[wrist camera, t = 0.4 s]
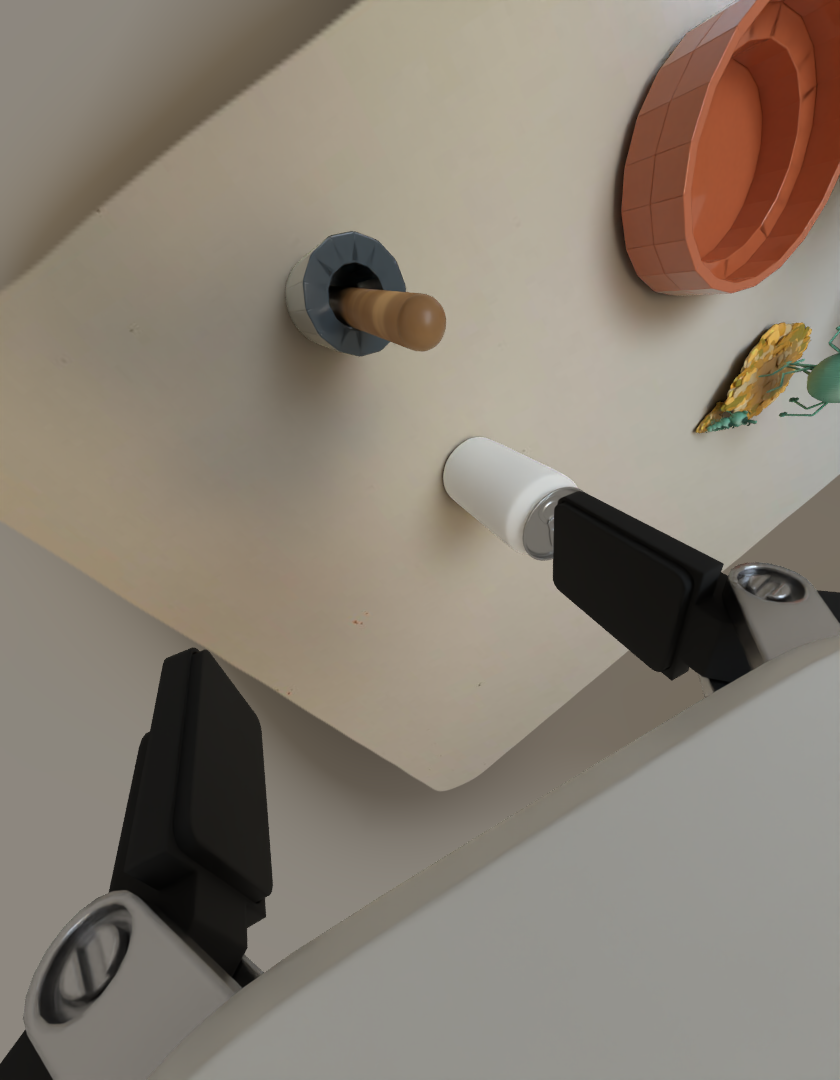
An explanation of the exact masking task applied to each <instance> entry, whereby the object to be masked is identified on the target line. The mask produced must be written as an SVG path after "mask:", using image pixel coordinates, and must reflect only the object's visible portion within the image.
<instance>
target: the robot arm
mask: <svg viewBox="0 0 840 1080" xmlns="http://www.w3.org/2000/svg"><path fill="white" fill-rule="evenodd" d="M722 567H723V563H721V562H719V561H717V560H715V559H713V558H711V557H709V556H708V555H706V554H704V553H702V552H700V551H698V550H696V549H694V548H692V547H690V546H688V545H686V544H684V543H682V542H680V541H678V540H676V539H674V538H672V537H670V536H668V535H667V534H665V533H663V532H661V531H659V530H657V529H655V528H653V527H651V526H649V525H647V524H645V523H643V522H641V521H639V520H637V519H635V518H633V517H631V516H629V515H627V514H626V513H624V512H622V511H620V510H618V509H616V508H614V507H612V506H610V505H608V504H606V503H604V502H602V501H600V500H598V499H596V498H594V497H592V496H590V495H588V494H586V493H585V492H582V491H576V492H574V493H572V494H569V495H567V496H564V497H562V498H560V499H559V500H558V503H557V505H556V506H555V508H554V541H553V581H554V584H555V586H556V587H557V589H558V590H559V591H560V592H562V593H563V594H564V595H565V596H566V597H567V598H569V599H570V600H571V601H572V602H573V603H574V604H576V605H577V606H578V607H579V608H580V609H582V610H583V611H584V612H585V613H586V614H587V615H589V616H590V617H591V618H592V619H593V620H594V621H596V622H597V623H598V624H599V625H600V626H602V627H603V628H604V629H605V630H606V631H607V632H609V633H610V634H611V635H612V636H613V637H614V638H616V639H617V640H618V641H619V642H620V643H622V644H623V645H624V646H625V647H626V648H627V649H629V650H630V651H631V652H632V653H633V654H635V655H636V656H637V657H638V658H639V659H640V660H642V661H643V662H644V663H645V664H646V665H648V666H649V667H650V668H652V669H653V670H654V671H657V672H662V673H663V674H664V675H666V676H667V677H668V678H669V679H670V680H674V679H675V678H677V677H678V676H680V675H682V674H684V673H686V672H687V671H688V670H689V667H690V668H692V669H693V670H694V671H695V672H697V673H698V676H699V680H700V683H701V686H702V689H703V693H704V697H705V698H704V699H702V700H701V701H699V702H697V703H696V704H694V705H692V706H691V707H689V708H687V709H686V710H684V711H682V712H681V713H679V714H677V715H676V716H674V717H672V718H671V719H669V720H667V721H666V722H664V723H662V724H661V725H659V726H657V727H656V728H654V729H653V730H651V731H649V732H648V733H646V734H645V735H643V736H641V737H639V738H638V739H636V740H634V741H633V742H631V743H630V744H628V745H626V746H624V747H623V748H621V749H620V750H618V751H616V752H615V753H613V754H611V755H610V756H608V757H607V758H605V759H603V760H601V761H600V762H598V763H597V764H595V765H593V766H592V767H590V768H588V769H587V770H585V771H583V772H582V773H580V774H579V775H577V776H575V777H574V778H572V779H570V780H569V781H567V782H565V783H564V784H562V785H561V786H559V787H557V788H556V789H554V790H552V791H551V792H549V793H547V794H546V795H544V796H543V797H541V798H539V799H538V800H536V801H535V802H533V803H531V804H529V805H528V806H526V807H525V808H523V809H521V810H520V811H518V812H516V813H515V814H513V815H511V816H510V817H508V818H507V819H505V820H504V821H502V822H500V823H498V824H497V825H495V826H494V827H492V828H490V829H489V830H487V831H486V832H484V833H482V834H481V835H479V836H478V837H476V838H474V839H473V840H471V841H469V842H468V843H466V844H464V845H463V846H461V847H460V848H458V849H457V850H455V851H453V852H452V853H450V854H448V855H447V856H445V857H444V858H442V859H440V860H439V861H437V862H435V863H434V864H432V865H431V866H429V867H427V868H426V869H424V870H423V871H421V872H419V873H418V874H416V875H414V876H413V877H411V878H410V879H408V880H406V881H405V882H403V883H401V884H400V885H398V886H396V887H395V888H393V889H392V890H390V891H388V892H387V893H385V894H384V895H382V896H380V897H379V898H377V899H376V900H374V901H373V902H371V903H369V904H368V905H366V906H365V907H363V908H362V909H360V910H359V911H357V912H355V913H354V914H352V915H351V916H349V917H348V918H346V919H345V920H343V921H341V922H340V923H338V924H337V925H335V926H334V927H332V928H330V929H329V930H327V931H326V932H324V933H323V934H321V935H320V936H318V937H317V938H315V939H314V940H312V941H310V942H309V943H307V944H306V945H304V946H302V947H301V948H299V949H298V950H296V951H295V952H293V953H292V954H290V955H289V956H287V957H286V958H285V959H283V960H282V961H280V962H279V963H277V964H276V965H275V966H273V967H272V968H271V969H269V970H268V971H266V972H265V973H264V972H263V971H262V970H261V969H260V968H258V967H257V966H256V965H255V964H254V963H253V962H252V961H251V960H250V959H249V958H248V957H246V955H244V953H245V951H246V949H247V928H248V927H250V926H251V925H253V924H255V923H256V922H258V921H260V920H261V919H263V918H265V917H266V909H265V897H267V896H269V895H270V894H271V892H272V886H273V882H272V881H273V880H272V867H271V853H270V840H269V827H268V812H267V799H266V785H265V772H264V758H263V746H262V731H261V726H260V723H259V720H258V717H257V716H256V714H255V713H254V711H253V710H252V709H251V707H250V706H249V705H248V703H247V702H246V701H245V699H244V698H243V697H242V695H241V694H240V693H239V691H238V690H237V689H236V687H235V686H234V684H233V683H232V682H231V680H230V679H229V678H228V676H227V675H226V674H225V673H224V671H223V670H222V668H221V667H220V666H219V664H218V663H217V662H216V660H215V659H214V658H213V656H212V655H211V653H210V652H209V651H208V650H203V651H199V650H198V649H196V648H190V649H188V650H185V651H183V652H180V653H178V654H175V655H173V656H171V657H168V658H166V659H165V660H164V663H163V667H162V672H161V677H160V683H159V688H158V693H157V698H156V703H155V709H154V714H153V719H152V724H151V730H150V732H148V733H146V734H145V736H144V737H143V738H142V740H141V744H140V746H139V751H138V755H137V760H136V765H135V770H134V775H133V780H132V784H131V789H130V794H129V799H128V803H127V808H126V813H125V818H124V822H123V827H122V832H121V837H120V841H119V846H118V851H117V856H116V861H115V865H114V870H113V875H112V880H111V885H110V889H109V893H108V894H105V895H103V896H101V897H98V898H97V899H95V900H94V901H92V902H91V903H90V904H88V905H87V906H86V907H84V908H83V909H82V910H80V911H79V912H78V913H77V914H76V915H75V916H74V917H73V918H72V919H71V920H70V921H69V922H68V923H67V924H66V926H65V927H64V928H63V929H62V930H61V932H60V933H59V934H58V935H57V937H56V938H55V940H54V941H53V942H52V944H51V945H50V946H49V948H48V949H47V951H46V953H45V954H44V956H43V958H42V960H41V962H40V963H39V966H38V967H37V969H36V971H35V973H34V975H33V978H32V981H31V984H30V987H29V989H28V992H27V995H26V999H25V1008H24V1016H23V1020H24V1024H25V1028H26V1030H25V1031H24V1032H23V1034H22V1035H21V1036H20V1038H19V1039H18V1041H17V1042H16V1043H15V1045H14V1046H13V1047H12V1049H11V1050H10V1051H9V1053H8V1054H7V1055H6V1057H5V1058H4V1059H3V1061H2V1062H1V1064H0V1080H840V593H837V592H828V591H818V590H816V589H815V588H814V586H813V585H812V584H811V583H810V582H809V581H808V580H807V579H806V578H804V577H803V576H801V575H800V574H798V573H796V572H794V571H792V570H789V569H787V568H784V567H781V566H777V565H773V564H768V563H759V562H756V563H745V564H740V565H738V566H735V567H734V568H733V569H731V571H730V573H729V575H728V576H727V575H725V574H723V573H722V572H721V570H722Z"/></svg>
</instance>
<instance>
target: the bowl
mask: <svg viewBox="0 0 840 1080" xmlns="http://www.w3.org/2000/svg"><path fill="white" fill-rule="evenodd" d="M839 175H840V0H735V1H734V2H732V3H731V4H729V5H727V6H726V7H724V8H723V9H721V10H719V11H718V12H716V13H715V14H713V15H712V16H710V17H709V18H708V19H706V20H705V21H703V22H702V23H701V24H699V25H698V26H696V27H695V28H693V29H692V30H691V31H689V32H688V33H687V34H686V35H685V36H684V38H683V39H682V40H681V42H680V43H679V44H678V46H677V47H676V48H675V50H674V51H673V52H672V54H671V55H670V56H669V58H668V59H667V60H666V62H665V63H664V64H663V66H662V67H661V68H660V70H659V71H658V73H657V75H656V77H655V79H654V82H653V84H652V86H651V88H650V90H649V92H648V95H647V97H646V99H645V101H644V103H643V106H642V108H641V110H640V112H639V114H638V117H637V120H636V124H635V128H634V132H633V136H632V140H631V144H630V148H629V152H628V156H627V159H626V163H625V168H624V181H623V194H622V207H621V214H622V222H623V230H624V237H625V245H626V251H627V253H628V255H629V258H630V260H631V262H632V265H633V267H634V269H635V271H636V274H637V276H638V277H639V278H640V279H641V280H642V281H644V282H645V283H646V284H647V285H648V286H649V287H650V288H651V289H652V290H653V291H655V292H658V293H663V294H667V295H672V296H682V295H706V294H728V293H735V292H738V291H741V290H744V289H747V288H751V287H754V286H756V285H757V284H759V283H760V282H761V281H763V280H764V279H765V278H767V277H768V276H769V275H771V274H772V273H773V272H775V271H776V270H777V269H779V268H780V267H781V266H782V265H783V264H784V262H785V261H786V260H787V259H788V258H789V257H790V255H791V254H792V253H793V252H794V251H795V250H796V248H797V247H798V246H799V245H800V244H801V243H802V242H803V240H804V239H805V237H806V236H807V234H808V232H809V231H810V229H811V228H812V226H813V224H814V223H815V221H816V219H817V218H818V216H819V215H820V213H821V211H822V210H823V208H824V207H825V205H826V203H827V201H828V199H829V197H830V195H831V193H832V190H833V188H834V186H835V184H836V182H837V179H838V177H839Z"/></svg>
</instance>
